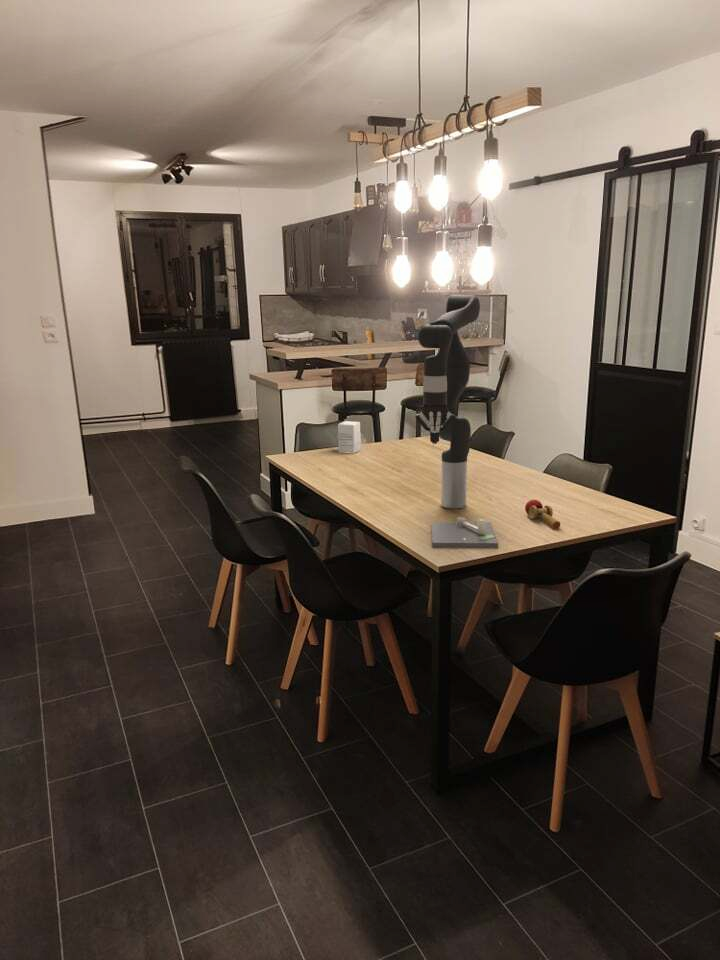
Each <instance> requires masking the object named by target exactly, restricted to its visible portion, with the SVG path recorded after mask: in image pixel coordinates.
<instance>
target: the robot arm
mask: <svg viewBox="0 0 720 960" xmlns="http://www.w3.org/2000/svg"><path fill="white" fill-rule="evenodd" d="M480 309H481V304H480V300H479V298H478V297H477V296H476V295H472V294H450V296H448V297H447V299H446V307H445V313H444V314H442V315H440V316H439V318H437V319H436V320H434V321H431V322H428V323H426V324H423V326H422V327H421V328H420V329H419V332H418V335H417V340H418V343H419V345H420V346H421V347H422V348H424V349H439V350H438V352H437V353H436V354H435V355H430V356H426V357H425V358H424V360H423V382H422V383H423V384H422V386H423V387H422V390H423V391H422V394H423V395H422V397H423V399H422V400H423V401H422V408H421V411H420V412H419V413H417V414H415V419H416V421H417V422H418V423H419V424H420V425H421V427H422V428H423V429H424V430H425V431H427V432H429V433H430V435H429V437H430V438H429V439H430V443H432V444H434V445H437V444H438V443H439V441H440V439H441V440H444V441H448V442H450V445H449V446H450V447H449V449H447V450H445V451H442V453H441V479H440V480H441V481H440V483H441V485H440V486H441V487H440V488H441V490H440V491H441V492H440V493H441V494H440V496H441V497H440V500H441V501H440V503H441V504H440V505H441V507H443V508H445V509H455V510H456V509H463V508H465V507H467V488H468V487H467V485H468V484H467V483H468V481H467V479H468V457H469V453H470V450H471V434H472V433H471V432H472V429H471V423H470V422H469V419H467V418H466V417H461V416H457V409H458V402H459V399H460V397H461V395H462V394H463V392H464V391H465V389H466V387H467V386H468V383H469V380H470V372H471V359H470V357H469V354H468V352H467V350H466V348H465V346H464V345H463V343H462V341H461V338H460V336H459V332H458V331H459V330H460V329H462V328H463V327H466V326H467V325H470V324H472V323H474V322H476V320H477V319H478V317H479V315H480V312H481V311H480ZM424 417H425V419H426V421H428V422H429V425H427V423H426V422H425V420H424ZM434 423H435V424H434Z"/></svg>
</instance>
